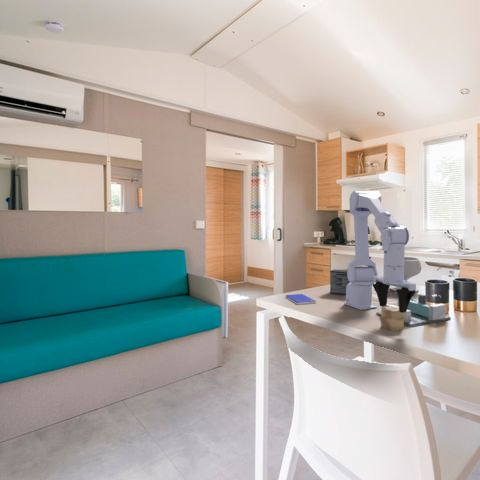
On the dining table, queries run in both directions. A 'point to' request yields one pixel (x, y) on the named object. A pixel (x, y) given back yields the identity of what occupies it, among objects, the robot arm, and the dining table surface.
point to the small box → (338, 281)
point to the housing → (392, 318)
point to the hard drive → (300, 299)
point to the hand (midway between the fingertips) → (392, 308)
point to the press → (414, 319)
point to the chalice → (410, 269)
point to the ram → (419, 306)
